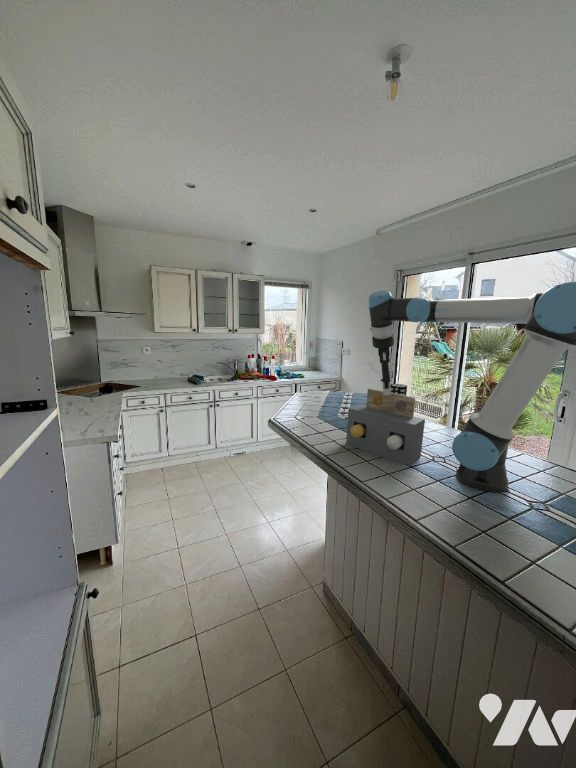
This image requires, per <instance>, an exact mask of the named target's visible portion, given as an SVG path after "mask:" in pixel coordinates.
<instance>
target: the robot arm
mask: <svg viewBox="0 0 576 768" xmlns="http://www.w3.org/2000/svg"><path fill="white" fill-rule="evenodd" d="M368 309H369V319H370V327H369V331H371V336H372V337H371V340H372V341H371V342H372V347H373V348H374V349H377V351H378V357H379V363H380V365H381V375H382V378H381V379H380V382H381V383H382V391H383V394H384V395H391V386H390V385H391V378H390V365H389V363H390V361H391V359H390V355H391V353H390V352H391V351H390V348H391V347H393V346H394V344H395V339H394V333H395V332H394V322H409V323H410V322H411V323H470V324H471V323H472V324H473V323H475V324H520V325H521V324H525V325H524V327H523V332H524V334H525V338H524V340H523V341H522V343H521V345H519V348H518V350H517V351H516V353H515V355H514V356H513V358H512V360H511V361H510V363H509V364H508V366H507V368H506V369H505V370H504V373H503V374H502V376H501V378H500V379H499V381H498V382H497V384H496V385H495V387H494V389H493V390H492V392H491V393H490V395H489V397H488V398H487V400H486V401H485V403H484V405H483V407H482V408H481V410H480V412H475V413H472V414H471V415H470V416H469V419H468V420H467V421H466V423H465V425H464V426H463V428H462V430H461V431H460V433H458V434H457V435H456V436H455V437H454V439H453V441H452V445H451V448H452V449H451V451H452V453H453V456H454V457H455V458H456V460H457V461H458V463H459V465H458V466H456V471H455V477H456V479H457V480H458V481H460V482H461V483H462V484H465V485H466V486H468V487H470V488H473V489H476V490H479V491H483V492H489V493H502V492H505V491H507V489H509V488H508V487H509V478H508V477H507V476H508V475H507V468H506V462H507V461H506V460H507V455H508V450H509V444H510V443H511V441H512V440H513V438H514V432H513V428H514V426H515V424H516V423H517V421H518V420H519V418H520V417H521V415H522V414H523V412H524V411H525V409H526V408H527V407H528V405H529V403H530V402H531V400H532V399H533V397H534V396H535V395H536V394H537V392H538V390H539V389H540V387H541V386H542V384H543V383H544V381H545V380H546V379H547V377H548V376H549V374H550V373H551V372H552V370H553V368H554V367H555V366H556V364H557V362H559V359H560V358H561V356H563V354H564V352H565V351H567V350H570V349H574V348H576V281H569V282H567V281H566V282H563V283H559V284H556V285H554V286H553V287H550V288H548V290H546V291H544V292H536V293H534V294H533V295H532V296H523V297H520V296H519V297H493V298H492V297H491V298H489V297H488V298H462V299H457V298H455V299H430V300H429V299H428V298H425V297H400V298H399V297H398V298H397V297H393V296H392V293H391V291H388V290H378V291H375V292H372V293H371V294H370V295H369V296H368Z"/></svg>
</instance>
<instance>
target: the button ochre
mask: <svg viewBox="0 0 576 768" xmlns="http://www.w3.org/2000/svg"><path fill="white" fill-rule="evenodd" d="M350 431H351V434H352V436H353V437H355V438H358V437H360V436H362V435H364V434H365V432H366V429H365V427H364V426H363V425H362V424H357V425H354V426H352V427H351V430H350Z"/></svg>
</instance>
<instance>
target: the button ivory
mask: <svg viewBox="0 0 576 768" xmlns="http://www.w3.org/2000/svg"><path fill="white" fill-rule="evenodd" d="M403 443H404V441H403V438H402V437H401V436H400V435H398V434H394V435H392V436H390V437H389V438H388V439H387V445H388V447H389V448H391V449H393V450H396V449H398V448H399V447H401V446H402V445H403Z"/></svg>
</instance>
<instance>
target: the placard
mask: <svg viewBox="0 0 576 768" xmlns="http://www.w3.org/2000/svg"><path fill="white" fill-rule="evenodd" d="M415 403H416V397H415V396H410V395H406V396H405V395H400V394H394V393H391V395H384V394H383V390H378V389H373V388H367V394H366V403H365V405H366V407H369V408H373V409H377V410H381V411H385V412H390V413H394V414H398V415H402V416H406V417H411V418H413V416H414V414H415V413H414V412H415Z"/></svg>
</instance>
